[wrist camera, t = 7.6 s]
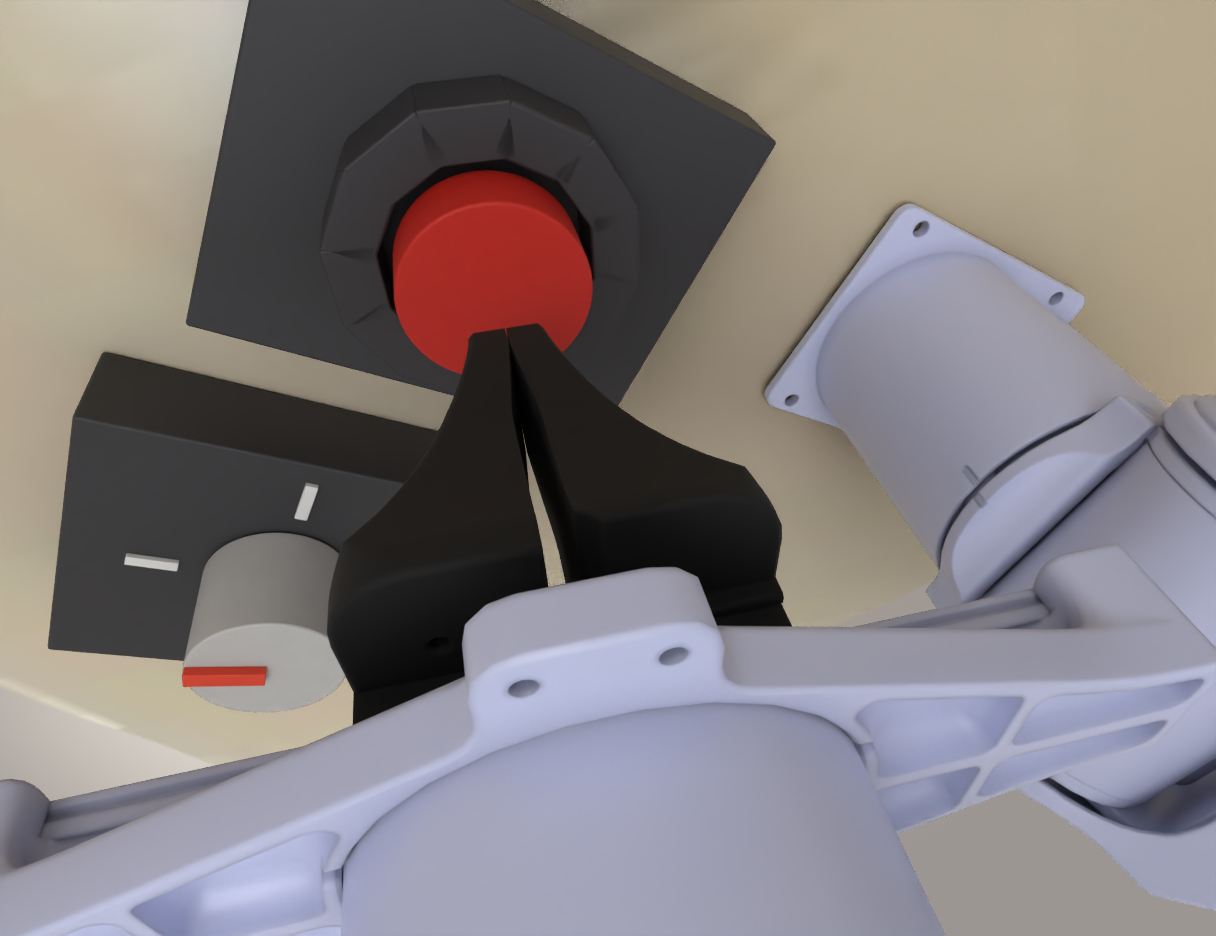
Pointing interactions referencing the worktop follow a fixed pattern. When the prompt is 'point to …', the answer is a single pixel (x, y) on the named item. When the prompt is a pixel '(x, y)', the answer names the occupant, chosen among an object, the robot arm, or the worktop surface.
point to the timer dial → (264, 625)
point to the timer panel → (199, 494)
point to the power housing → (454, 172)
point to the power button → (487, 265)
